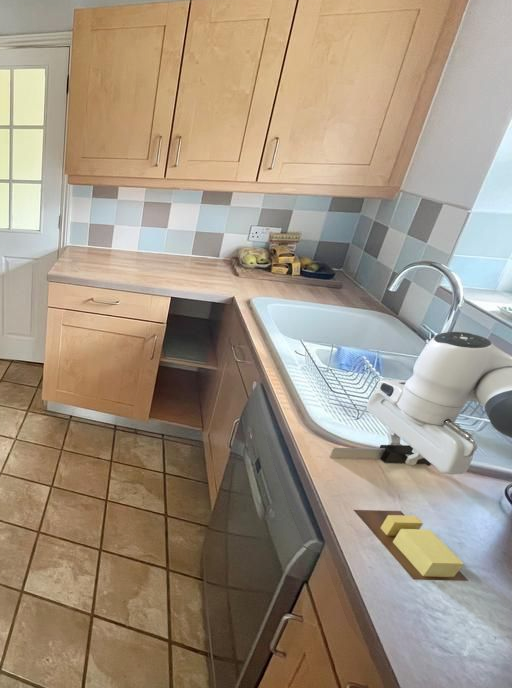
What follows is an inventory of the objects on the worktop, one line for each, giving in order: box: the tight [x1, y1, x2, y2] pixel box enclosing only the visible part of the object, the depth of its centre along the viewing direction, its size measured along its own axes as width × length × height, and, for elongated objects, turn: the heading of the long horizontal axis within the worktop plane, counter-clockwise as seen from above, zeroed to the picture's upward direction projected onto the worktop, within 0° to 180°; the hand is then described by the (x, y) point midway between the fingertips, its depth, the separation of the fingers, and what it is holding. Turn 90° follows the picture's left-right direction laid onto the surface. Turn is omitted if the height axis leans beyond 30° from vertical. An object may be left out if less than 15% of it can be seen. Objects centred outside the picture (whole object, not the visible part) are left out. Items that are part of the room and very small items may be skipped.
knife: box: [328, 444, 432, 467], centre depth 90 cm, size 21×2×4 cm, turn 89°
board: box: [353, 509, 470, 582], centre depth 73 cm, size 9×13×2 cm
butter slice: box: [381, 515, 424, 536], centre depth 74 cm, size 5×2×4 cm, turn 89°
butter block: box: [393, 528, 465, 577], centre depth 70 cm, size 5×6×4 cm
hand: (400, 455), depth 90 cm, fingers closed on knife, 2 cm apart
